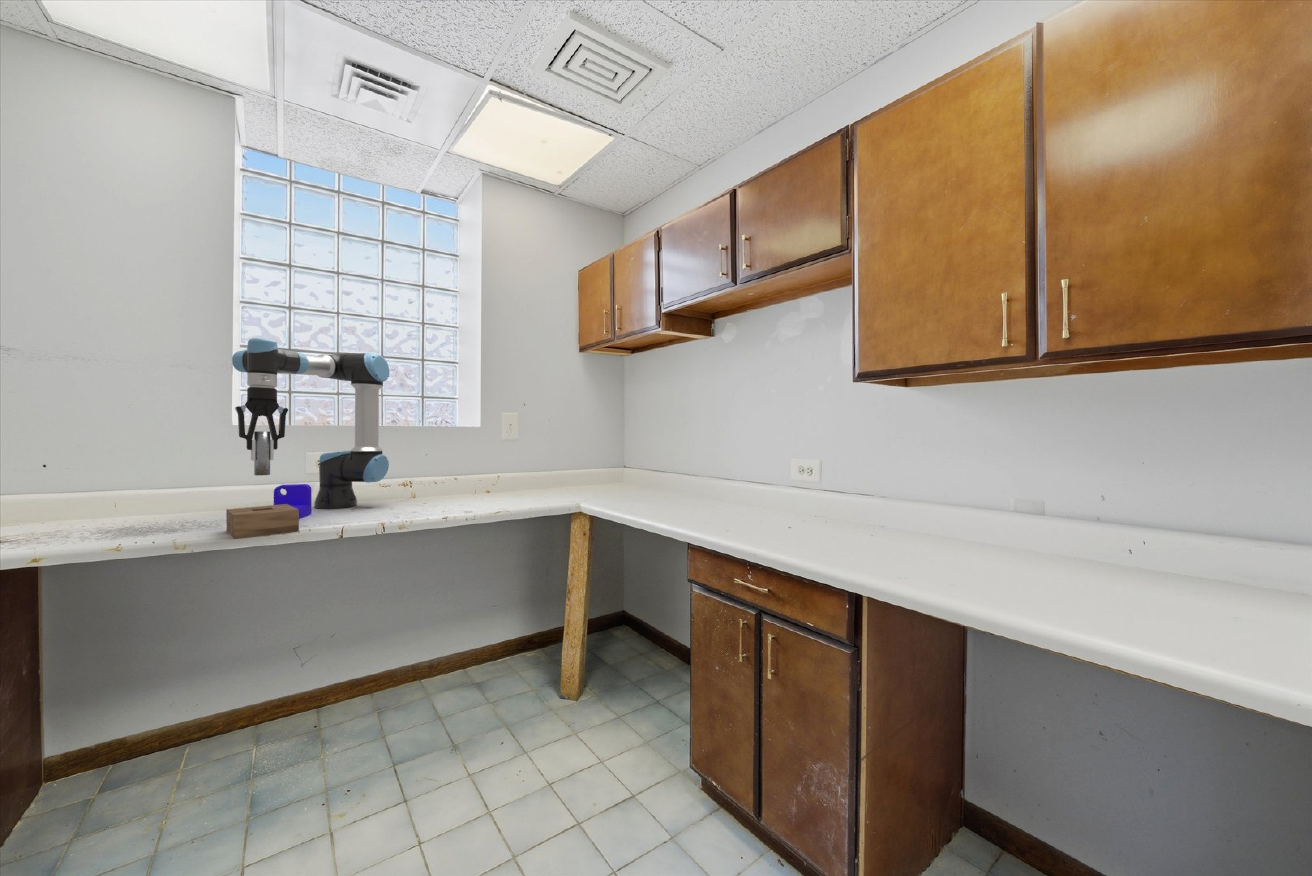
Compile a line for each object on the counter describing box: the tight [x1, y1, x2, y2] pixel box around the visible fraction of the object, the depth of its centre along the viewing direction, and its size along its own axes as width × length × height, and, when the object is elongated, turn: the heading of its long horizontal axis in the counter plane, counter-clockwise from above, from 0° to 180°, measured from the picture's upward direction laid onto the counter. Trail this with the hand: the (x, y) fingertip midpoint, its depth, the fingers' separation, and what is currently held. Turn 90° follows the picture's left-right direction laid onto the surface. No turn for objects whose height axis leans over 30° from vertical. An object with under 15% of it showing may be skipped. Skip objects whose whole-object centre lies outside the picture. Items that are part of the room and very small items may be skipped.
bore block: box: [225, 504, 300, 540], centre depth 159 cm, size 16×16×7 cm
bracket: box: [273, 483, 312, 520], centre depth 181 cm, size 18×11×12 cm, turn 26°
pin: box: [253, 430, 271, 476], centre depth 159 cm, size 4×4×14 cm
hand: (262, 459), depth 159 cm, fingers closed on pin, 4 cm apart
